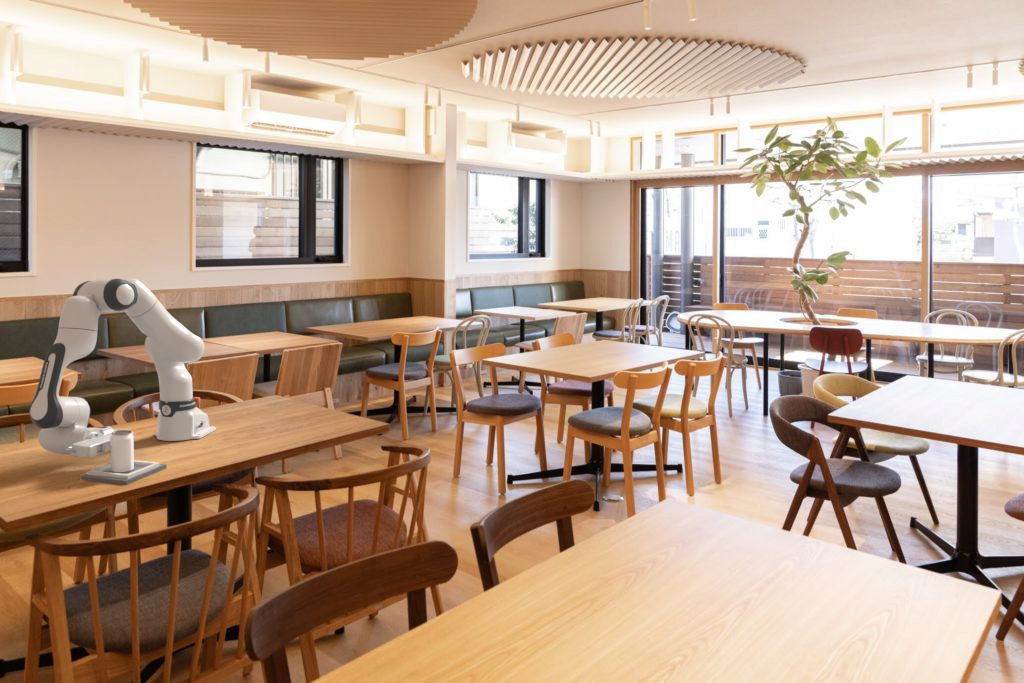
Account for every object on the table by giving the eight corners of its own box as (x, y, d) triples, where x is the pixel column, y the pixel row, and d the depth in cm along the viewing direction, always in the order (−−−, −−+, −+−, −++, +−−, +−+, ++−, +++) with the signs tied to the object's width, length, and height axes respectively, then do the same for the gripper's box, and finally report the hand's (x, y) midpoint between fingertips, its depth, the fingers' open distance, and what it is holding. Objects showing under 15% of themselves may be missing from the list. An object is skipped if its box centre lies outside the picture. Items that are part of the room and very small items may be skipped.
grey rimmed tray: (123, 463, 257) (123, 457, 256) (166, 468, 253) (166, 461, 252) (80, 479, 239) (80, 472, 239) (126, 484, 235) (125, 477, 235)
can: (126, 474, 242) (125, 435, 240) (106, 472, 242) (105, 434, 241) (138, 468, 248) (137, 430, 246) (118, 466, 249) (118, 429, 247)
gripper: (61, 440, 237) (100, 443, 234) (111, 424, 257) (147, 428, 254) (62, 460, 238) (101, 464, 235) (112, 443, 258) (148, 447, 255)
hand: (125, 445), depth 245 cm, fingers closed on can, 4 cm apart
